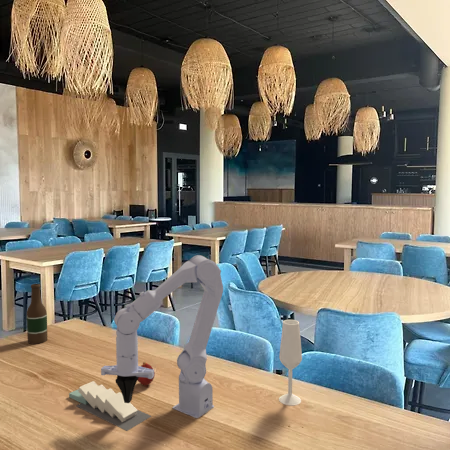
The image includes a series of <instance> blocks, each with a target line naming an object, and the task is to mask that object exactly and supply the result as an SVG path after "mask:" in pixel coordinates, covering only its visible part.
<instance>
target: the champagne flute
mask: <svg viewBox="0 0 450 450" xmlns="http://www.w3.org/2000/svg"><path fill="white" fill-rule="evenodd" d="M281 328H282V329H281V339H280V346H279V347H280V348H279V356H278V358H279V361H280V362H281V364H282V365H283V366H284V367H285V368H286V369H288V377H287V379H288V382H287V383H288V385H287V393H285V394H282V395H281V396H280V397H279V398H278V401H279V402H280V404H283V405H286V406H297V405H300V404H301V402H302V399H301V398H300V397H299V396H297V395H296V394H294V393H293V369H295V368H297V367H298V366H299V365H300V364H301V363H302V360H303V355H302V353H303V352H302V340H301V329H300V322H299V321H298V320H297V319H285V320H283V321H282V327H281Z"/></svg>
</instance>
